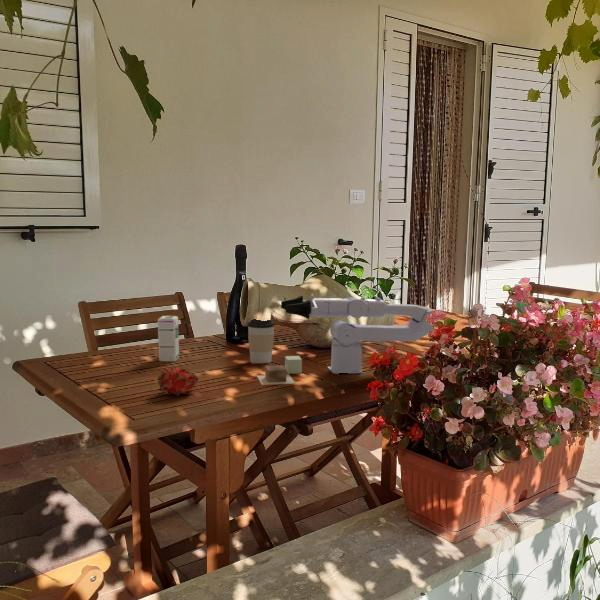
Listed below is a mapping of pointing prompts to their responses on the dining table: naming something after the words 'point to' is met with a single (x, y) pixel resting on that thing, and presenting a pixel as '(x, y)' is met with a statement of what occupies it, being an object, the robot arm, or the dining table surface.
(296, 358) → the sage block
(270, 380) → the walnut block
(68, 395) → the dining table surface
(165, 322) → the syrup box
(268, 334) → the coffee cup
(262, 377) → the stone tile
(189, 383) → the dragon fruit
